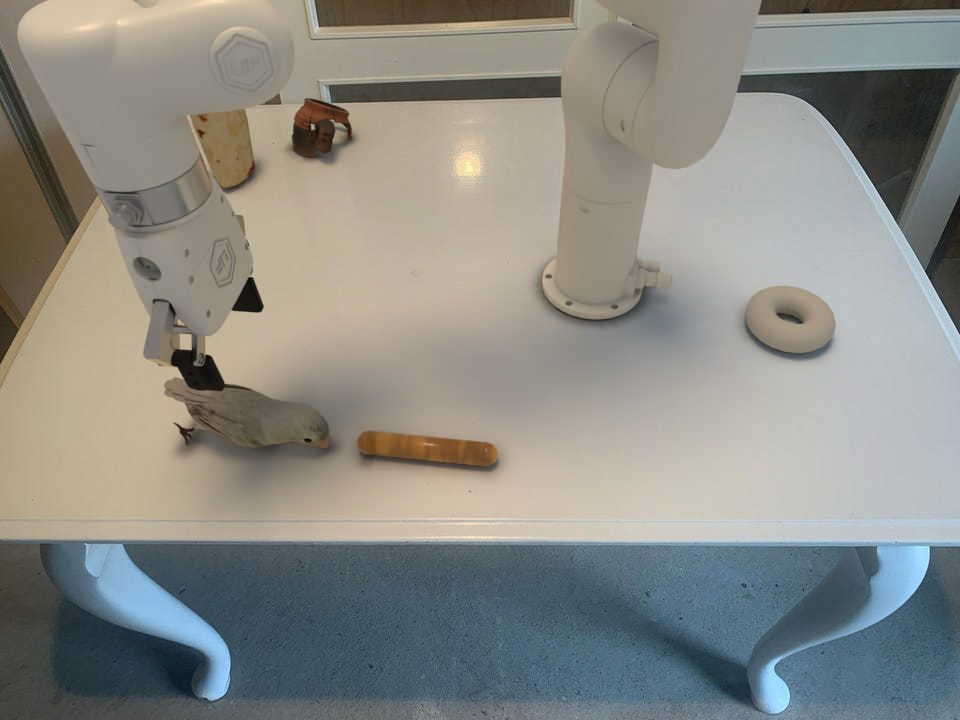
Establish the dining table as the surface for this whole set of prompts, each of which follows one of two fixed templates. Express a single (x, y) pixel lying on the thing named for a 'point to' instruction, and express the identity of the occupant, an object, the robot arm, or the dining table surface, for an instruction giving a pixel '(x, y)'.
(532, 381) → the dining table surface
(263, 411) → the decorative bird
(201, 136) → the food model
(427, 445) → the polished stone stick
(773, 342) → the donut
